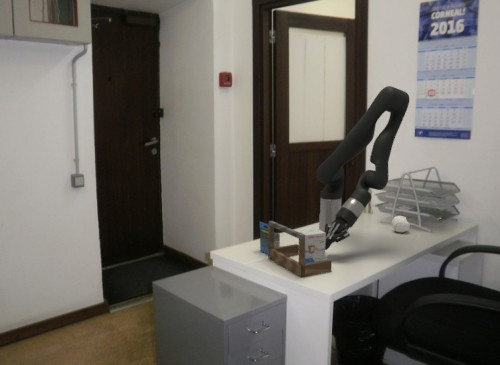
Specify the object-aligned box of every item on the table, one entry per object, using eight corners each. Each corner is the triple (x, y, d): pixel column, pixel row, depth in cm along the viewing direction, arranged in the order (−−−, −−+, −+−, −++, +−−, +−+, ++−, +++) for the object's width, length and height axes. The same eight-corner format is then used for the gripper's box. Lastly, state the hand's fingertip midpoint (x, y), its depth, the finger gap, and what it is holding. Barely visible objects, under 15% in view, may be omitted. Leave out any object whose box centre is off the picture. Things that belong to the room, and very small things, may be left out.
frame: (268, 258, 176) (268, 221, 174) (296, 253, 182) (296, 217, 179) (301, 277, 156) (301, 235, 153) (331, 271, 161) (331, 230, 159)
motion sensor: (412, 234, 207) (412, 217, 206) (396, 234, 206) (396, 218, 205) (404, 229, 215) (404, 213, 214) (388, 230, 214) (389, 214, 213)
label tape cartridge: (280, 254, 181) (280, 224, 179) (272, 256, 179) (272, 225, 177) (267, 249, 188) (267, 219, 186) (259, 250, 186) (259, 221, 184)
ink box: (305, 266, 167) (305, 234, 165) (298, 262, 172) (298, 231, 170) (325, 262, 170) (326, 231, 169) (318, 258, 175) (318, 228, 173)
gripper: (333, 203, 180) (307, 238, 176) (355, 209, 168) (328, 247, 165) (344, 215, 183) (319, 249, 180) (366, 221, 171) (340, 258, 168)
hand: (323, 248), depth 172 cm, fingers closed
